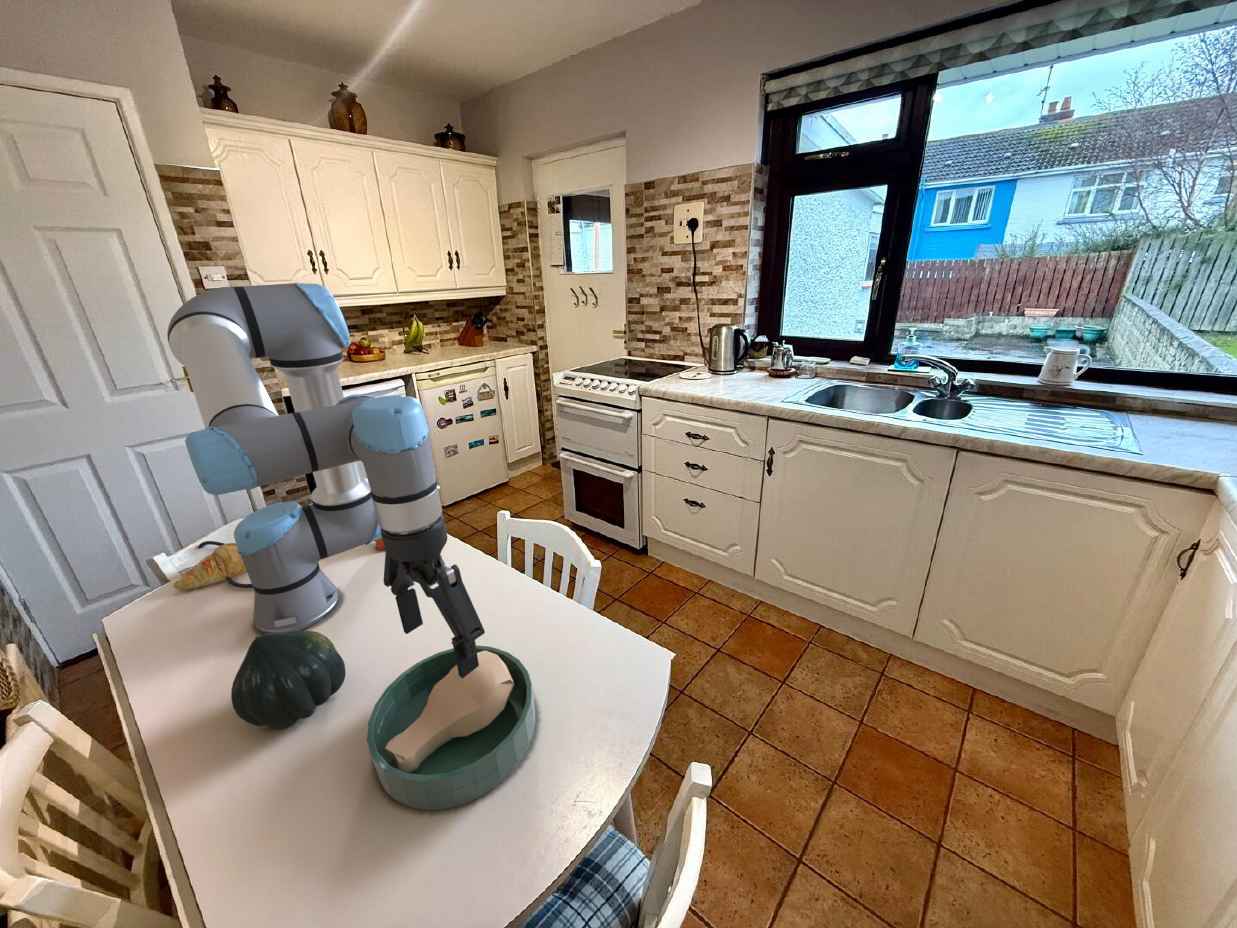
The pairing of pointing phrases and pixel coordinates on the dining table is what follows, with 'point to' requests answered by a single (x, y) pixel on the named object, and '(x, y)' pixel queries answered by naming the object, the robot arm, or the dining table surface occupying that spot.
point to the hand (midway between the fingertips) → (439, 648)
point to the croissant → (213, 568)
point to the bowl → (461, 761)
